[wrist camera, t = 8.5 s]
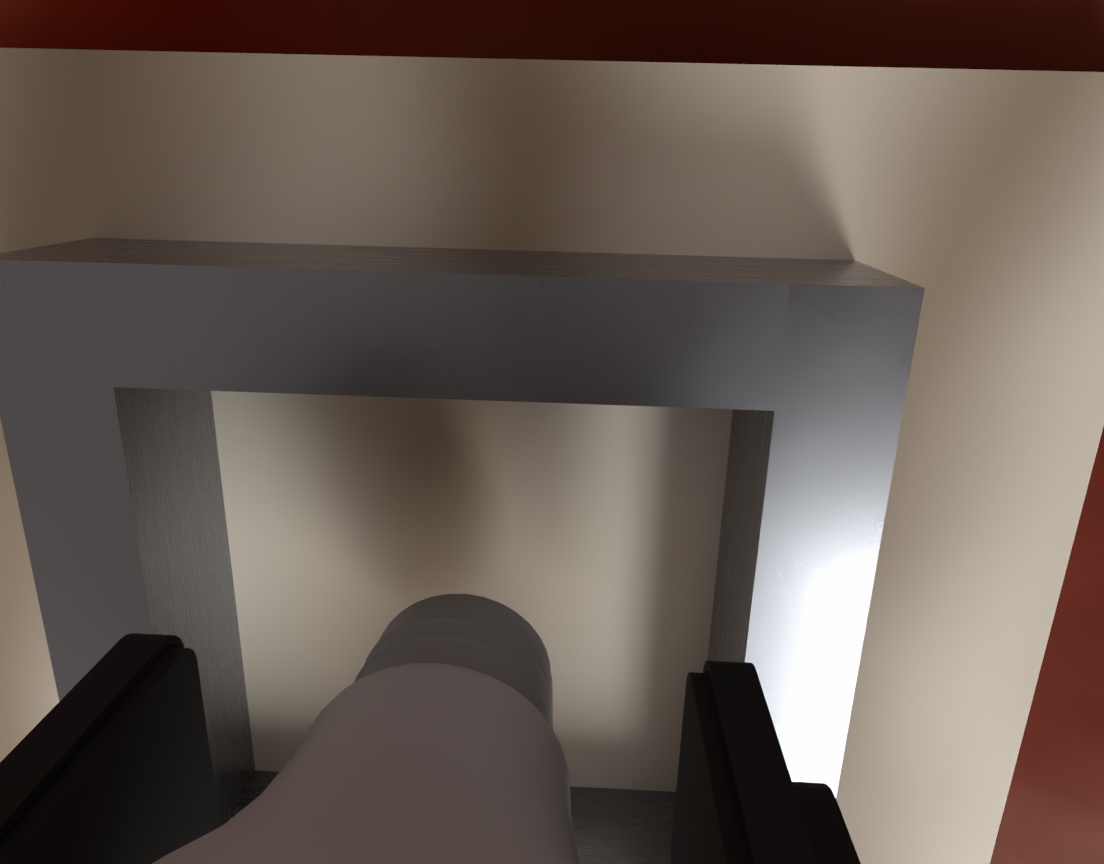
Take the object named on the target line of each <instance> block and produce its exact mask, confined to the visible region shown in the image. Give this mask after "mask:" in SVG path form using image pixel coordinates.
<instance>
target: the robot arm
mask: <svg viewBox="0 0 1104 864" xmlns="http://www.w3.org/2000/svg"><path fill="white" fill-rule="evenodd" d="M217 828H219V815H218V807H217V800H216V793H215V786H214V778H213V771H212V764H211V757H210V749H209V742H208V735H207V728H206V720H205V713H204V706H203V698H202V691H201V684H200V677H199V669H198V662H197V657H196V654H195V652H194V650H193V649H191V648H184V644H183V642H182V640H181V639H180V637H178V636H176V635H160V634H139V633H131V634H126V635H125V636H124V637H122V638H121V639H120V640H119V641H118V642H117V643H116V644H115V645H114V646H113V647H112V648H111V649H110V650H109V651H108V652H107V653H106V654H105V655H104V656H103V657H102V658H101V659H100V661H99V662H98V663H97V664H96V665H95V666H94V667H93V668H92V669H91V670H90V671H89V672H88V673H87V674H86V675H85V676H84V677H83V678H82V679H81V680H80V681H79V682H78V683H77V684H76V685H75V686H74V687H73V688H72V689H71V690H70V691H69V692H68V693H67V694H66V695H65V696H64V697H63V699H62V700H61V701H60V702H59V703H58V704H57V705H56V706H55V707H54V708H53V709H52V710H51V711H50V712H49V713H48V714H47V715H46V716H45V717H44V718H43V719H42V720H41V721H40V722H39V723H38V724H37V725H36V726H35V727H34V728H33V729H32V730H31V731H30V732H29V733H28V734H27V735H26V737H25V738H24V739H23V740H22V741H21V742H20V743H19V744H18V745H17V746H16V747H15V748H14V749H13V750H12V751H11V752H10V753H9V754H8V755H7V756H6V757H5V758H4V759H3V760H2V761H1V762H0V864H152V863H154V862H155V861H157V860H159V859H160V858H162V857H164V856H166V855H167V854H169V853H171V852H173V851H175V850H177V849H179V848H181V847H183V846H185V845H187V844H189V843H190V842H192V841H194V840H196V839H198V838H200V837H202V836H204V835H206V834H208V833H210V832H212V831H214V830H215V829H217ZM671 864H861V863H860V860H859V858H858V855H857V852H856V850H855V847H854V845H853V842H852V839H851V837H850V834H849V831H848V829H847V826H846V824H845V821H844V818H843V816H842V813H841V810H840V808H839V805H838V802H837V800H836V798H835V796H834V794H833V792H832V790H831V788H830V787H829V786H828V785H827V784H826V783H809V782H792V781H791V778H790V774H789V771H788V768H787V765H786V762H785V759H784V756H783V753H782V749H781V746H780V743H779V740H778V737H777V734H776V731H775V728H774V724H773V721H772V718H771V715H770V712H769V709H768V706H767V702H766V699H765V696H764V693H763V690H762V687H761V684H760V681H759V677H758V674H757V671H756V668H755V666H754V664H752V663H747V662H727V661H706V662H705V664H704V668H703V673H697V672H689V673H688V675H687V680H686V689H685V700H684V711H683V721H682V732H681V743H680V754H679V765H678V775H677V786H676V797H675V808H674V819H673V830H672V840H671Z"/></svg>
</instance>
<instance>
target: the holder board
mask: <svg viewBox="0 0 1104 864" xmlns="http://www.w3.org/2000/svg"><path fill="white" fill-rule="evenodd" d="M87 238H116V239H150V240H184V241H218V242H251V243H285V244H319V245H353V246H386V247H420V248H454V249H488V250H522V251H555V252H589V253H623V254H657V255H690V256H724V257H758V258H792V259H826V260H855V261H858V262H860V263H863V264H866V265H868V266H871V267H873V268H876V269H878V270H881V271H883V272H886V273H888V274H891V275H893V276H896V277H898V278H901V279H903V280H906V281H908V282H911V283H913V284H916V285H918V286H921V287H923V288H925V289H924V295H923V301H922V307H921V312H920V318H919V324H918V330H917V335H916V341H915V347H914V353H913V358H912V364H911V370H910V376H909V381H908V387H907V393H906V399H905V404H904V410H903V416H902V422H901V427H900V433H899V439H898V445H897V450H896V456H895V462H894V468H893V473H892V479H891V485H890V491H889V496H888V502H887V508H886V514H885V519H884V525H883V531H882V537H881V542H880V548H879V554H878V560H877V566H876V571H875V577H874V583H873V589H872V594H871V600H870V606H869V612H868V617H867V623H866V629H865V635H864V640H863V646H862V652H861V658H860V663H859V669H858V675H857V681H856V686H855V692H854V698H853V704H852V709H851V715H850V721H849V727H848V732H847V738H846V744H845V750H844V755H843V761H842V767H841V773H840V778H839V784H838V790H837V796H836V800H837V802H838V805H839V808H840V810H841V813H842V816H843V818H844V821H845V824H846V826H847V829H848V831H849V834H850V837H851V839H852V842H853V845H854V847H855V850H856V852H857V855H858V858H859V860H860V863H861V864H990V861H991V857H992V853H993V849H994V845H995V841H996V838H997V834H998V830H999V826H1000V822H1001V818H1002V814H1003V811H1004V807H1005V803H1006V799H1007V795H1008V791H1009V788H1010V784H1011V780H1012V776H1013V772H1014V768H1015V764H1016V761H1017V757H1018V753H1019V749H1020V745H1021V741H1022V738H1023V734H1024V730H1025V726H1026V722H1027V718H1028V714H1029V711H1030V707H1031V703H1032V699H1033V695H1034V691H1035V688H1036V684H1037V680H1038V676H1039V672H1040V668H1041V664H1042V661H1043V657H1044V653H1045V649H1046V645H1047V641H1048V638H1049V634H1050V630H1051V626H1052V622H1053V618H1054V614H1055V611H1056V607H1057V603H1058V599H1059V595H1060V591H1061V588H1062V584H1063V580H1064V576H1065V572H1066V568H1067V564H1068V561H1069V557H1070V553H1071V549H1072V545H1073V541H1074V538H1075V534H1076V530H1077V526H1078V522H1079V518H1080V514H1081V511H1082V507H1083V503H1084V499H1085V495H1086V491H1087V488H1088V484H1089V480H1090V476H1091V472H1092V468H1093V464H1094V461H1095V457H1096V453H1097V449H1098V445H1099V441H1100V438H1101V434H1102V430H1103V426H1104V72H1077V71H1032V70H987V69H941V68H896V67H851V66H806V65H760V64H715V63H670V62H625V61H579V60H534V59H489V58H444V57H399V56H353V55H308V54H263V53H218V52H172V51H127V50H82V49H37V48H0V253H4V252H10V251H16V250H22V249H28V248H34V247H40V246H46V245H52V244H58V243H64V242H70V241H76V240H82V239H87ZM211 397H212V405H213V414H214V422H215V431H216V439H217V448H218V456H219V465H220V473H221V482H222V490H223V499H224V507H225V516H226V524H227V533H228V541H229V550H230V558H231V567H232V575H233V584H234V592H235V601H236V609H237V618H238V626H239V635H240V643H241V652H242V660H243V669H244V677H245V686H246V694H247V703H248V711H249V720H250V728H251V737H252V746H253V754H254V763H255V771H275V772H280V771H281V770H282V769H283V768H284V766H285V765H286V764H287V763H288V762H289V761H290V759H291V758H292V757H293V756H294V754H295V752H296V751H297V749H298V747H299V746H300V744H301V742H302V741H303V739H304V737H305V736H306V734H307V732H308V730H309V729H310V727H311V726H312V724H313V723H314V721H315V720H316V718H317V717H318V715H319V713H320V712H321V710H322V709H323V708H324V707H325V706H327V705H328V704H329V703H330V702H331V701H332V700H333V699H334V698H335V697H336V696H337V695H338V694H339V693H340V692H341V691H343V690H344V689H345V688H346V687H348V686H350V685H351V684H353V683H354V682H355V679H356V676H357V675H358V673H359V672H360V670H361V669H362V667H363V666H364V664H365V661H366V658H367V657H368V655H369V654H370V652H371V651H372V649H373V648H374V646H375V645H376V644H377V643H378V641H379V639H380V637H381V635H382V634H383V632H384V631H385V629H386V628H387V626H388V625H389V623H390V622H391V621H392V620H393V619H394V618H395V617H396V616H397V615H398V614H399V613H400V612H401V611H403V610H404V609H406V608H408V607H409V606H411V605H412V604H414V603H416V602H419V601H421V600H424V599H426V598H429V597H433V596H438V595H444V594H470V595H476V596H482V597H486V598H488V599H491V600H494V601H497V602H499V603H502V604H503V605H505V606H507V607H509V608H510V609H512V610H514V611H516V612H517V613H518V614H519V615H520V616H522V617H523V618H524V619H525V620H526V621H527V622H529V623H530V625H531V626H532V627H533V628H534V630H535V631H536V632H537V633H538V635H539V636H540V638H541V640H542V642H543V644H544V646H545V648H546V650H547V654H548V657H549V661H550V669H551V675H552V689H553V696H552V699H553V731H554V733H555V735H556V737H557V739H558V741H559V742H560V745H561V747H562V750H563V752H564V756H565V760H566V763H567V767H568V771H569V778H570V786H571V787H591V788H611V789H631V790H651V791H670V792H676V786H677V775H678V765H679V754H680V743H681V732H682V721H683V711H684V700H685V689H686V680H687V675H688V673H689V672H697V673H703V668H704V664H705V662H706V661H707V658H708V648H709V638H710V628H711V619H712V609H713V599H714V589H715V579H716V570H717V560H718V550H719V540H720V530H721V520H722V511H723V501H724V491H725V481H726V471H727V461H728V452H729V442H730V432H731V422H732V412H733V409H710V408H682V407H654V406H626V405H597V404H569V403H541V402H513V401H485V400H457V399H429V398H400V397H372V396H344V395H316V394H288V393H260V392H232V391H211ZM58 703H59V697H58V692H57V688H56V683H55V678H54V673H53V668H52V664H51V659H50V654H49V649H48V644H47V640H46V635H45V630H44V625H43V620H42V615H41V611H40V606H39V601H38V596H37V591H36V587H35V582H34V577H33V572H32V567H31V563H30V558H29V553H28V548H27V543H26V539H25V534H24V529H23V524H22V519H21V514H20V510H19V505H18V500H17V495H16V490H15V486H14V481H13V476H12V471H11V466H10V462H9V457H8V452H7V447H6V442H5V438H4V433H3V428H2V423H1V418H0V762H1V761H2V760H3V759H4V758H5V757H6V756H7V755H8V754H9V753H10V752H11V751H12V750H13V749H14V748H15V747H16V746H17V745H18V744H19V743H20V742H21V741H22V740H23V739H24V738H25V737H26V735H27V734H28V733H29V732H30V731H31V730H32V729H33V728H34V727H35V726H36V725H37V724H38V723H39V722H40V721H41V720H42V719H43V718H44V717H45V716H46V715H47V714H48V713H49V712H50V711H51V710H52V709H53V708H54V707H55V706H56V705H57V704H58Z"/></svg>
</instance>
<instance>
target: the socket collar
mask: <svg viewBox="0 0 1104 864" xmlns="http://www.w3.org/2000/svg"><path fill="white" fill-rule="evenodd" d="M924 289H925V288H923V287H921V286H918V285H916V284H913V283H911V282H908V281H906V280H903V279H901V278H898V277H896V276H893V275H891V274H888V273H886V272H883V271H881V270H878V269H876V268H873V267H871V266H868V265H866V264H863V263H860V262H858V261H855V260H826V259H792V258H758V257H724V256H690V255H657V254H623V253H589V252H555V251H522V250H488V249H454V248H420V247H386V246H353V245H319V244H285V243H251V242H218V241H184V240H150V239H116V238H87V239H82V240H76V241H70V242H64V243H58V244H52V245H46V246H40V247H34V248H28V249H22V250H16V251H10V252H4V253H0V418H1V423H2V428H3V433H4V438H5V442H6V447H7V452H8V457H9V462H10V466H11V471H12V476H13V481H14V486H15V490H16V495H17V500H18V505H19V510H20V514H21V519H22V524H23V529H24V534H25V539H26V543H27V548H28V553H29V558H30V563H31V567H32V572H33V577H34V582H35V587H36V591H37V596H38V601H39V606H40V611H41V615H42V620H43V625H44V630H45V635H46V640H47V644H48V649H49V654H50V659H51V664H52V668H53V673H54V678H55V683H56V688H57V692H58V697H59V702H60V701H61V700H62V699H63V697H64V696H65V695H66V694H67V693H68V692H69V691H70V690H71V689H72V688H73V687H74V686H75V685H76V684H77V683H78V682H79V681H80V680H81V679H82V678H83V677H84V676H85V675H86V674H87V673H88V672H89V671H90V670H91V669H92V668H93V667H94V666H95V665H96V664H97V663H98V662H99V661H100V659H101V658H102V657H103V656H104V655H105V654H106V653H107V652H108V651H109V650H110V649H111V648H112V647H113V646H114V645H115V644H116V643H117V642H118V641H119V640H120V639H121V638H122V637H124V636H125V635H126V634H131V633H139V634H160V635H176V636H178V637H180V639H181V640H182V642H183V644H184V648H191V649H193V650H194V652H195V654H196V657H197V662H198V669H199V677H200V684H201V691H202V698H203V706H204V713H205V720H206V728H207V735H208V742H209V749H210V757H211V764H212V771H213V778H214V786H215V793H216V800H217V807H218V815H219V827H221V826H223V825H224V824H225V823H226V822H228V821H229V820H230V819H231V818H232V817H234V816H235V815H236V814H237V813H239V812H240V811H241V810H242V809H244V808H245V807H246V806H247V805H248V804H250V803H251V802H252V801H253V800H255V799H256V798H257V797H258V796H260V795H261V794H262V792H263V791H264V790H265V789H266V788H267V787H268V785H269V784H270V783H271V782H272V781H273V779H274V778H275V777H276V776H277V775H278V774H279V772H275V771H255V763H254V754H253V746H252V737H251V728H250V720H249V711H248V703H247V694H246V686H245V677H244V669H243V660H242V652H241V643H240V635H239V626H238V618H237V609H236V601H235V592H234V584H233V575H232V567H231V558H230V550H229V541H228V533H227V524H226V516H225V507H224V499H223V490H222V482H221V473H220V465H219V456H218V448H217V439H216V431H215V422H214V414H213V405H212V397H211V391H232V392H260V393H288V394H316V395H344V396H372V397H400V398H429V399H457V400H485V401H513V402H541V403H569V404H597V405H626V406H654V407H682V408H710V409H733V412H732V422H731V432H730V442H729V452H728V461H727V471H726V481H725V491H724V501H723V511H722V520H721V530H720V540H719V550H718V560H717V570H716V579H715V589H714V599H713V609H712V619H711V628H710V638H709V648H708V658H707V661H727V662H747V663H752V664H754V666H755V668H756V671H757V674H758V677H759V681H760V684H761V687H762V690H763V693H764V696H765V699H766V702H767V706H768V709H769V712H770V715H771V718H772V721H773V724H774V728H775V731H776V734H777V737H778V740H779V743H780V746H781V749H782V753H783V756H784V759H785V762H786V765H787V768H788V771H789V774H790V778H791V781H792V782H809V783H826V784H827V785H828V786H829V787H830V788H831V790H832V792H833V794H834V796H835V798H836V796H837V790H838V784H839V778H840V773H841V767H842V761H843V755H844V750H845V744H846V738H847V732H848V727H849V721H850V715H851V709H852V704H853V698H854V692H855V686H856V681H857V675H858V669H859V663H860V658H861V652H862V646H863V640H864V635H865V629H866V623H867V617H868V612H869V606H870V600H871V594H872V589H873V583H874V577H875V571H876V566H877V560H878V554H879V548H880V542H881V537H882V531H883V525H884V519H885V514H886V508H887V502H888V496H889V491H890V485H891V479H892V473H893V468H894V462H895V456H896V450H897V445H898V439H899V433H900V427H901V422H902V416H903V410H904V404H905V399H906V393H907V387H908V381H909V376H910V370H911V364H912V358H913V353H914V347H915V341H916V335H917V330H918V324H919V318H920V312H921V307H922V301H923V295H924ZM675 797H676V792H670V791H651V790H631V789H611V788H591V787H571V786H570V799H571V820H572V826H573V831H574V836H575V840H576V845H577V850H578V854H579V859H580V863H581V864H671V840H672V830H673V819H674V808H675Z"/></svg>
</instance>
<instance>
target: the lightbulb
mask: <svg viewBox="0 0 1104 864" xmlns="http://www.w3.org/2000/svg"><path fill="white" fill-rule="evenodd" d="M552 696H553V689H552V675H551V669H550V661H549V657H548V654H547V650H546V648H545V646H544V644H543V642H542V640H541V638H540V636H539V635H538V633H537V632H536V631H535V630H534V628H533V627H532V626H531V625H530V623H529V622H527V621H526V620H525V619H524V618H523V617H522V616H520V615H519V614H518V613H517V612H516V611H514V610H512V609H510V608H509V607H507V606H505V605H503V604H502V603H499V602H497V601H494V600H491V599H488V598H486V597H482V596H476V595H470V594H444V595H438V596H433V597H429V598H426V599H424V600H421V601H419V602H416V603H414V604H412V605H411V606H409V607H408V608H406V609H404V610H403V611H401V612H400V613H399V614H398V615H397V616H396V617H395V618H394V619H393V620H392V621H391V622H390V623H389V625H388V626H387V628H386V629H385V631H384V632H383V634H382V635H381V637H380V639H379V641H378V643H377V644H376V645H375V646H374V648H373V649H372V651H371V652H370V654H369V655H368V657H367V658H366V661H365V664H364V666H363V667H362V669H361V670H360V672H359V673H358V675H357V676H356V679H355V682H354V683H353V684H351V685H350V686H348V687H346V688H345V689H344V690H343V691H341V692H340V693H339V694H338V695H337V696H336V697H335V698H334V699H333V700H332V701H331V702H330V703H329V704H328V705H327V706H325V707H324V708H323V709H322V710H321V712H320V713H319V715H318V717H317V718H316V720H315V721H314V723H313V724H312V726H311V727H310V729H309V730H308V732H307V734H306V736H305V737H304V739H303V741H302V742H301V744H300V746H299V747H298V749H297V751H296V752H295V754H294V756H293V757H292V758H291V759H290V761H289V762H288V763H287V764H286V765H285V766H284V768H283V769H282V770H281V771H280V772H279V774H278V775H277V776H276V777H275V778H274V779H273V781H272V782H271V783H270V784H269V785H268V787H267V788H266V789H265V790H264V791H263V792H262V794H261V795H260V796H258V797H257V798H256V799H255V800H253V801H252V802H251V803H250V804H248V805H247V806H246V807H245V808H244V809H242V810H241V811H240V812H239V813H237V814H236V815H235V816H234V817H232V818H231V819H230V820H229V821H228V822H226V823H225V824H224V825H223V826H221V827H219V828H217V829H215V830H214V831H212V832H210V833H208V834H206V835H204V836H202V837H200V838H198V839H196V840H194V841H192V842H190V843H189V844H187V845H185V846H183V847H181V848H179V849H177V850H175V851H173V852H171V853H169V854H167V855H166V856H164V857H162V858H160V859H159V860H157V861H155V862H154V863H152V864H581V863H580V859H579V854H578V850H577V845H576V840H575V836H574V831H573V826H572V820H571V799H570V778H569V771H568V767H567V763H566V760H565V756H564V752H563V750H562V747H561V745H560V742H559V741H558V739H557V737H556V735H555V733H554V731H553V699H552Z"/></svg>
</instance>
